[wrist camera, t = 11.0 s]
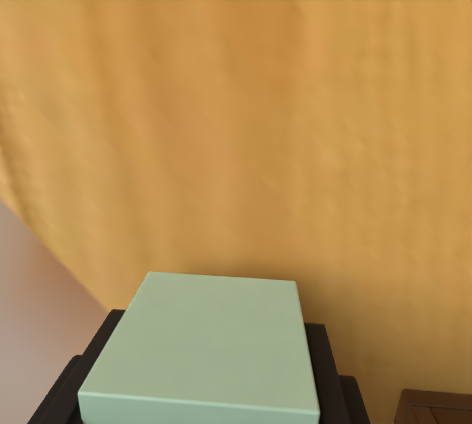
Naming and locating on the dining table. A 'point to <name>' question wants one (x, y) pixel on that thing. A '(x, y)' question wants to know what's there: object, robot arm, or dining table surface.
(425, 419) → the box
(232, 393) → the block
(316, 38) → the dining table surface
